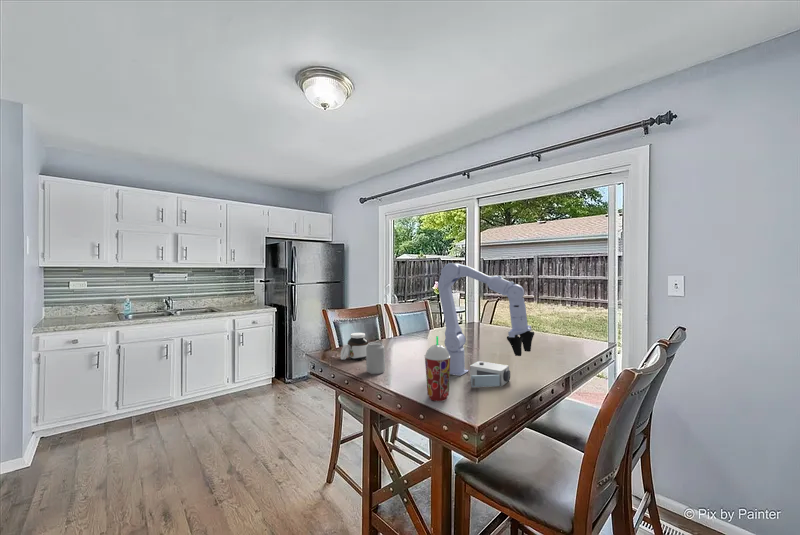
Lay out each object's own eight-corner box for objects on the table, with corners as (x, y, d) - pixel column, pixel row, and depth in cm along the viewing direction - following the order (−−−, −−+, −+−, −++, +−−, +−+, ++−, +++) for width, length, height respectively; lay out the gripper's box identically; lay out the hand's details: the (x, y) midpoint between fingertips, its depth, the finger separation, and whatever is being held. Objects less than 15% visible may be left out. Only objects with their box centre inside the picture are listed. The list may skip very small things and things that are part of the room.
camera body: (469, 380, 127) (469, 364, 127) (478, 374, 134) (478, 359, 134) (504, 387, 119) (504, 369, 119) (512, 381, 126) (512, 364, 126)
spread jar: (371, 358, 160) (371, 333, 160) (353, 363, 152) (352, 337, 152) (354, 354, 168) (354, 331, 168) (336, 359, 160) (336, 334, 160)
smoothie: (455, 401, 107) (454, 337, 107) (430, 404, 105) (430, 339, 105) (444, 392, 115) (443, 333, 116) (421, 395, 113) (420, 334, 113)
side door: (472, 387, 118) (472, 376, 118) (471, 386, 120) (471, 375, 120) (502, 386, 119) (502, 375, 119) (500, 385, 120) (500, 374, 120)
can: (373, 376, 134) (373, 345, 134) (362, 372, 139) (362, 342, 139) (388, 372, 139) (388, 342, 139) (377, 368, 144) (377, 340, 144)
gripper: (519, 319, 119) (524, 358, 118) (537, 314, 129) (541, 350, 129) (501, 319, 124) (505, 357, 123) (519, 314, 134) (523, 348, 134)
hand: (522, 353), depth 126 cm, fingers open, 7 cm apart
